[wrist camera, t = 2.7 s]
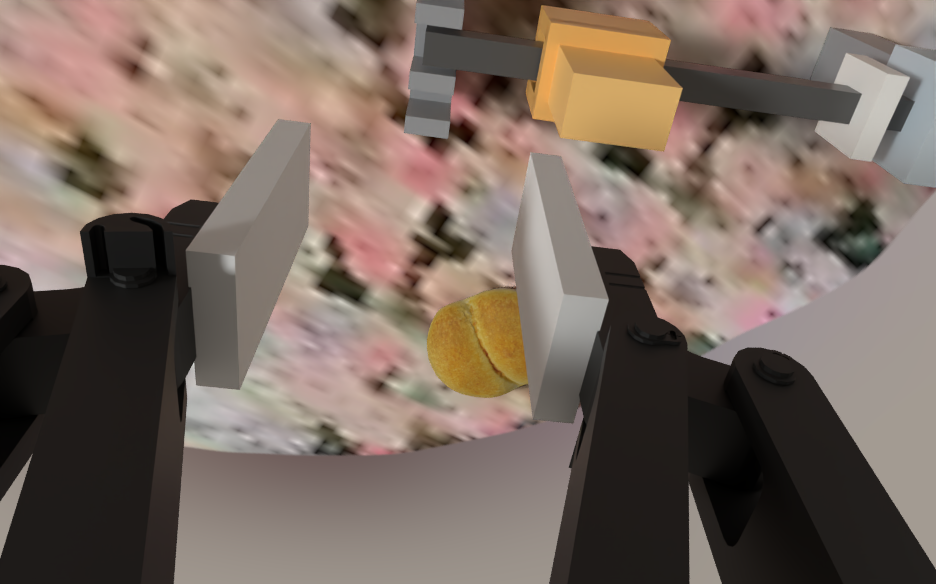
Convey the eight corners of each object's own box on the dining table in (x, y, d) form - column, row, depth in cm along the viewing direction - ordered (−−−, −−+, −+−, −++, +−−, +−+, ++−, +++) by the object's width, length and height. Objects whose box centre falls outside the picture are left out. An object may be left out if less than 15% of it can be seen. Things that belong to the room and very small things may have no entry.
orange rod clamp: (525, 92, 34) (542, 155, 27) (541, 5, 32) (565, 48, 25) (626, 106, 34) (670, 172, 27) (649, 20, 32) (702, 68, 25)
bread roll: (408, 313, 49) (404, 347, 46) (527, 266, 47) (533, 298, 44) (458, 397, 53) (458, 434, 50) (570, 356, 51) (578, 392, 48)
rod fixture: (415, 79, 41) (400, 150, 31) (431, -76, 36) (419, -52, 27) (829, 136, 43) (939, 220, 33) (888, -5, 38) (1035, 42, 29)
